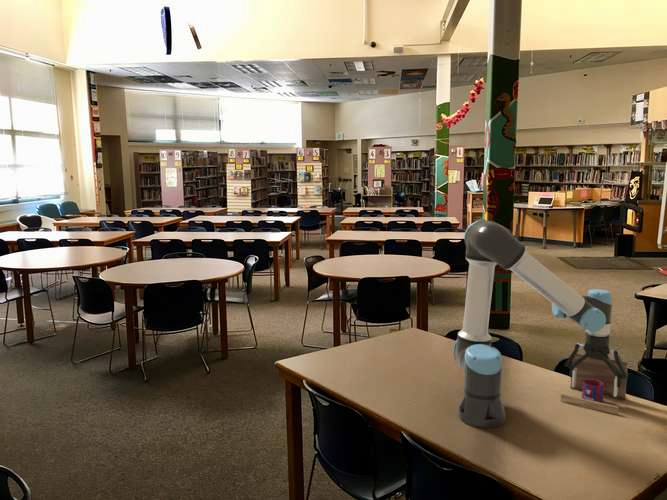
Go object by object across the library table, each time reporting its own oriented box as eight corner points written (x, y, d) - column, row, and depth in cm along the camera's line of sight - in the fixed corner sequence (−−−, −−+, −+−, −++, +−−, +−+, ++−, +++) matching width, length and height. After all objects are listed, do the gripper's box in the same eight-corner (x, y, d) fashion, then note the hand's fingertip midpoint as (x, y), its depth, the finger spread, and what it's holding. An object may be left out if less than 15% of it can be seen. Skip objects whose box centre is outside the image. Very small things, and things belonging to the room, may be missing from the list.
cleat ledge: (617, 414, 175) (617, 407, 174) (560, 401, 186) (561, 394, 185) (617, 413, 176) (618, 406, 175) (561, 400, 186) (561, 393, 186)
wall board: (624, 400, 186) (627, 362, 184) (570, 388, 197) (572, 352, 195) (625, 397, 188) (628, 360, 186) (572, 385, 199) (574, 350, 197)
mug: (578, 400, 186) (579, 382, 185) (591, 392, 193) (592, 375, 192) (597, 406, 181) (598, 388, 180) (610, 398, 187) (611, 380, 186)
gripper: (639, 337, 179) (635, 395, 182) (562, 325, 194) (560, 379, 197) (636, 342, 173) (632, 403, 176) (557, 330, 188) (554, 385, 191)
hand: (594, 390), depth 186 cm, fingers open, 13 cm apart
